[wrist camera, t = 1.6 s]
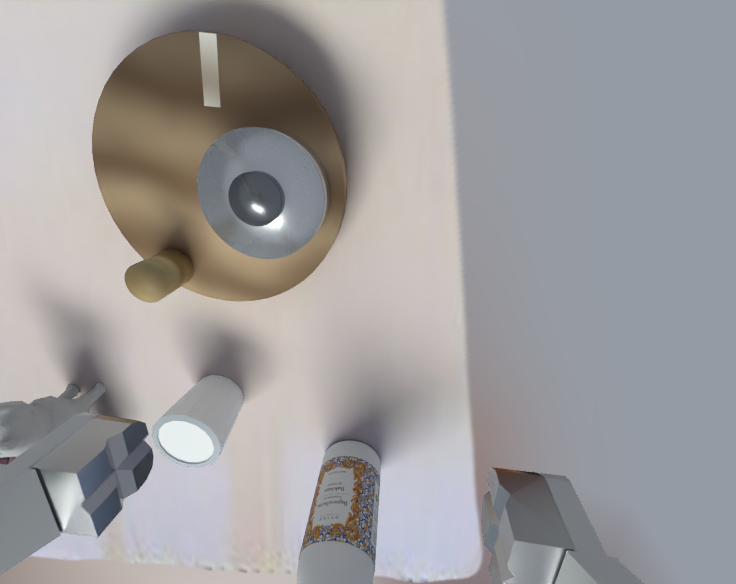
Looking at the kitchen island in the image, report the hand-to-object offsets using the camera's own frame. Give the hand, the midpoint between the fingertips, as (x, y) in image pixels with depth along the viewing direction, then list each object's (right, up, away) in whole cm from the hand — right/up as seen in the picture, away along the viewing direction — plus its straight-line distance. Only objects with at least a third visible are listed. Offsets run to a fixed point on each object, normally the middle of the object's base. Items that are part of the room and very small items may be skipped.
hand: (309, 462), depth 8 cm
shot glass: (-16, -8, +32) cm, 36 cm away
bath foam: (-1, -16, +34) cm, 38 cm away
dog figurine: (-32, -9, +34) cm, 48 cm away
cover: (-6, +12, +19) cm, 23 cm away
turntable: (-10, +13, +21) cm, 26 cm away
